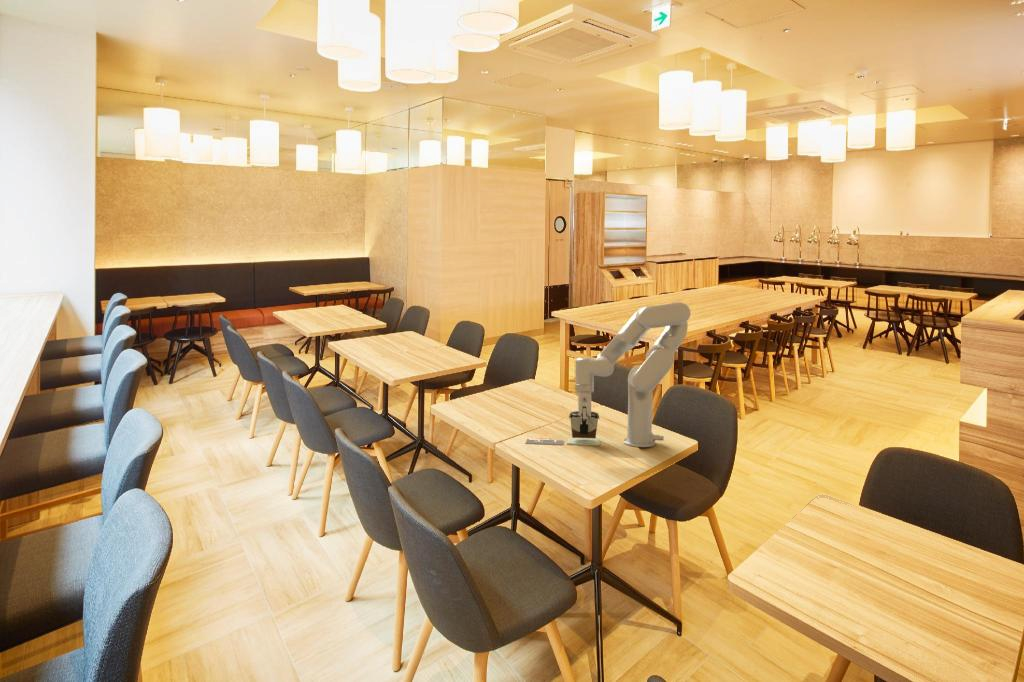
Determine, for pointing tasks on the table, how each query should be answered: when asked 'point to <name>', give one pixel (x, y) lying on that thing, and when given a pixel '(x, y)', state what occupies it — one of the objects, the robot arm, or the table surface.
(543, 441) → the tile
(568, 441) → the pad
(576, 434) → the food container
